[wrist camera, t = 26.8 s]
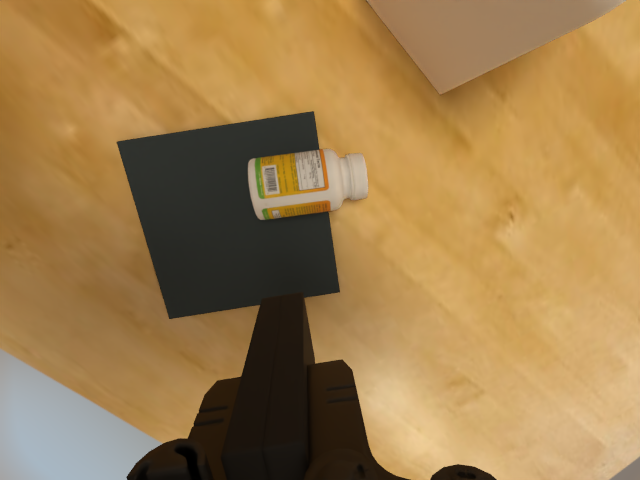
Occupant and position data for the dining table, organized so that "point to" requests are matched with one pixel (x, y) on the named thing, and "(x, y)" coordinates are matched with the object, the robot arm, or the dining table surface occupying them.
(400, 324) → the dining table surface
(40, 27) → the dining table surface
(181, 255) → the mat
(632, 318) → the dining table surface
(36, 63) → the dining table surface
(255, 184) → the supplement bottle
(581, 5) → the milk
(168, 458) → the robot arm
